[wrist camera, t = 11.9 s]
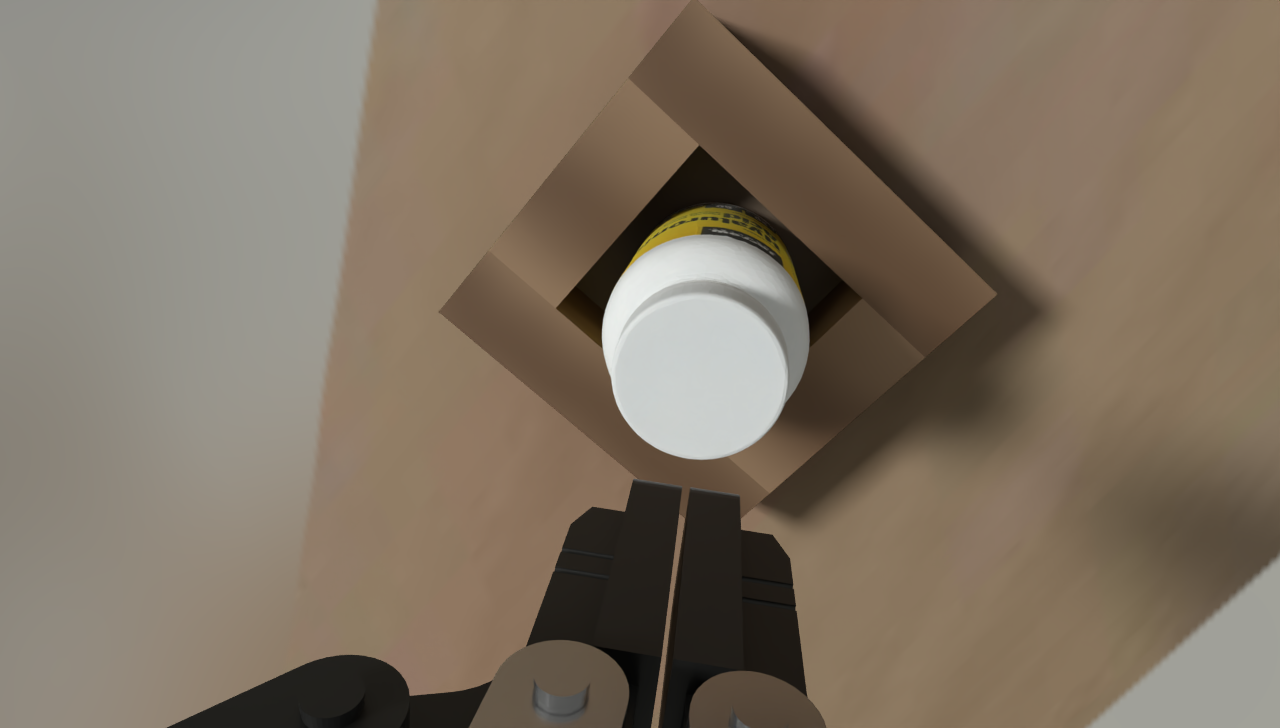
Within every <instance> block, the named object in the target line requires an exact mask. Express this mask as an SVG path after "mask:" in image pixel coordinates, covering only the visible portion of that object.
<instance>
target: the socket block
mask: <svg viewBox="0 0 1280 728" xmlns="http://www.w3.org/2000/svg"><path fill="white" fill-rule="evenodd" d="M701 203H726V204H732V205H736V206H739V207H742V208H744V209H747V210H749V211H751V212H753V213H755V214H756V215H758V216H760V217H761V218H762V219H764V220H765V221H766V222H767V223H768V224H769V225H770V226H771V227H772V228H773V229H774V230H775V231H776V232H777V233H778V235H779V236H780V237H781V239H782V240H783V242H784V243H785V245H786V247H787V249H788V251H789V254H790V256H791V259H792V262H793V266H794V269H795V273H796V276H797V280H798V283H799V286H800V290H801V293H802V296H803V299H804V303H805V307H806V310H807V316H808V323H809V338H810V341H809V353H808V358H807V363H806V366H805V369H804V372H803V375H802V378H801V380H800V382H799V384H798V385H797V387H796V389H795V391H794V392H793V394H792V395H791V396H790V398H789V399H788V400H787V402H786V403H785V405H784V407H783V410H782V412H781V414H780V416H779V417H778V419H777V421H776V422H775V424H774V425H773V426H772V428H771V429H770V430H769V431H768V432H767V433H766V434H765V435H764V436H763V437H762V438H761V439H760V440H758V441H757V442H756V443H755V444H753V445H751V446H749V447H748V448H746V449H744V450H742V451H740V452H738V453H735V454H733V455H730V456H726V457H723V458H718V459H709V460H696V459H687V458H681V457H677V456H674V455H671V454H668V453H665V452H663V451H661V450H659V449H657V448H655V447H653V446H652V445H650V444H649V443H647V442H646V441H645V440H643V439H642V438H641V437H640V436H639V435H637V434H636V432H635V431H634V430H633V429H632V428H631V427H630V425H629V424H628V423H627V421H626V420H625V419H624V417H623V415H622V414H621V412H620V410H619V408H618V406H617V403H616V400H615V397H614V394H613V388H612V381H611V376H610V374H609V371H608V368H607V365H606V361H605V357H604V352H603V345H602V326H603V318H604V314H605V310H606V307H607V304H608V301H609V299H610V296H611V294H612V291H613V289H614V287H615V285H616V284H617V282H618V280H619V279H620V277H621V276H622V274H623V273H624V271H625V270H626V268H627V267H628V265H629V264H630V262H631V261H632V259H633V257H634V256H635V254H636V253H637V251H638V250H639V248H640V247H641V245H642V243H643V242H644V241H645V239H646V238H647V237H648V235H649V234H650V233H651V232H652V230H653V229H654V228H655V227H656V226H657V225H658V224H659V223H661V222H662V221H663V220H664V219H666V218H667V217H668V216H670V215H671V214H673V213H675V212H677V211H679V210H681V209H683V208H686V207H689V206H692V205H696V204H701ZM996 295H997V293H996V292H995V291H994V290H993V289H992V288H991V287H990V286H989V285H988V284H987V283H986V282H985V281H984V280H983V279H982V278H981V277H979V276H978V275H977V274H976V273H975V272H974V271H973V270H972V269H971V268H970V267H969V266H968V265H967V264H966V263H965V262H964V261H963V260H962V259H961V258H960V257H959V256H958V255H957V254H956V253H955V252H954V251H953V250H952V249H951V248H950V247H949V246H948V245H947V244H946V243H945V242H944V241H943V240H942V239H941V238H940V237H939V236H938V235H937V234H936V233H935V232H934V231H933V230H931V229H930V228H929V227H928V226H927V225H926V224H925V223H924V222H923V221H922V220H921V219H920V218H919V217H918V216H917V215H916V214H915V213H914V212H913V211H912V210H911V209H910V208H909V207H908V206H907V205H906V204H905V203H904V202H903V201H902V200H901V199H900V198H899V197H898V196H897V195H896V194H895V193H894V192H893V191H892V190H891V189H890V188H889V187H888V186H887V185H886V184H884V183H883V182H882V181H881V180H880V179H879V178H878V177H877V176H876V175H875V174H874V173H873V172H872V171H871V170H870V169H869V168H868V167H867V166H866V165H865V164H864V163H863V162H862V161H861V160H860V159H859V158H858V157H857V156H856V155H855V154H854V153H853V152H852V151H851V150H850V149H849V148H848V147H847V146H846V145H845V144H844V143H843V142H842V141H841V140H840V139H839V138H838V137H836V136H835V135H834V134H833V133H832V132H831V131H830V130H829V129H828V128H827V127H826V126H825V125H824V124H823V123H822V122H821V121H820V120H819V119H818V118H817V117H816V116H815V115H814V114H813V113H812V112H811V111H810V110H809V109H808V108H807V107H806V106H805V105H804V104H803V103H802V102H801V101H800V100H799V99H798V98H797V97H796V96H795V95H794V94H793V93H792V92H791V91H790V90H788V89H787V88H786V87H785V86H784V85H783V84H782V83H781V82H780V81H779V80H778V79H777V78H776V77H775V76H774V75H773V74H772V73H771V72H770V71H769V70H768V69H767V68H766V67H765V66H764V65H763V64H762V63H761V62H760V61H759V60H758V59H757V58H756V57H755V56H754V55H753V54H752V53H751V52H750V51H749V50H748V49H747V48H746V47H745V46H744V45H743V44H742V43H740V42H739V41H738V40H737V39H736V38H735V37H734V36H733V35H732V34H731V33H730V32H729V31H728V30H727V29H726V28H725V27H724V26H723V25H722V24H721V23H720V22H719V21H718V20H717V19H716V18H715V17H714V16H713V15H712V14H711V13H710V12H709V11H708V10H707V9H706V8H705V7H704V6H703V5H702V4H701V3H700V2H699V1H698V0H691V1H690V2H689V3H688V5H687V6H686V7H685V8H684V10H683V11H682V12H681V13H680V15H679V16H678V17H677V18H676V19H675V21H674V22H673V23H672V24H671V26H670V27H669V28H668V29H667V31H666V32H665V33H664V34H663V36H662V37H661V38H660V39H659V40H658V42H657V43H656V44H655V45H654V47H653V48H652V49H651V50H650V52H649V53H648V54H647V55H646V57H645V58H644V59H643V60H642V61H641V63H640V64H639V65H638V66H637V68H636V69H635V70H634V71H633V73H632V74H631V75H630V76H629V78H628V79H627V80H626V81H625V82H624V84H623V85H622V86H621V87H620V89H619V90H618V91H617V92H616V94H615V95H614V96H613V97H612V99H611V100H610V101H609V102H608V103H607V105H606V106H605V107H604V108H603V110H602V111H601V112H600V113H599V115H598V116H597V117H596V118H595V120H594V121H593V122H592V123H591V125H590V126H589V127H588V128H587V129H586V131H585V132H584V133H583V134H582V136H581V137H580V138H579V139H578V141H577V142H576V143H575V144H574V146H573V147H572V148H571V149H570V150H569V152H568V153H567V154H566V155H565V157H564V158H563V159H562V160H561V162H560V163H559V164H558V165H557V167H556V168H555V169H554V170H553V171H552V173H551V174H550V175H549V176H548V178H547V179H546V180H545V181H544V183H543V184H542V185H541V186H540V188H539V189H538V190H537V191H536V192H535V194H534V195H533V196H532V197H531V199H530V200H529V201H528V202H527V204H526V205H525V206H524V207H523V209H522V210H521V211H520V212H519V213H518V215H517V216H516V217H515V218H514V220H513V221H512V222H511V223H510V225H509V226H508V227H507V228H506V230H505V231H504V232H503V233H502V234H501V236H500V237H499V238H498V239H497V241H496V242H495V243H494V244H493V246H492V247H491V248H490V249H489V251H488V252H487V253H486V254H485V255H484V257H483V258H482V259H481V260H480V262H479V263H478V264H477V265H476V267H475V268H474V269H473V270H472V272H471V273H470V274H469V275H468V276H467V278H466V279H465V280H464V281H463V283H462V284H461V285H460V286H459V288H458V289H457V290H456V291H455V293H454V294H453V295H452V296H451V297H450V299H449V300H448V301H447V302H446V304H445V305H444V306H443V307H442V309H441V310H440V311H439V313H441V314H442V315H443V316H444V317H445V318H447V319H448V320H449V321H450V322H451V323H453V324H454V325H455V326H456V327H457V328H459V329H460V330H461V331H462V332H463V333H465V334H466V335H467V336H468V337H469V338H470V339H472V340H473V341H474V342H475V343H476V344H478V345H479V346H480V347H481V348H482V349H484V350H485V351H486V352H487V353H488V354H490V355H491V356H492V357H493V358H494V359H496V360H497V361H498V362H499V363H500V364H501V365H503V366H504V367H505V368H506V369H507V370H509V371H510V372H511V373H512V374H513V375H515V376H516V377H517V378H518V379H519V380H521V381H522V382H523V383H524V384H525V385H527V386H528V387H529V388H530V389H531V390H532V391H534V392H535V393H536V394H537V395H538V396H540V397H541V398H542V399H543V400H544V401H546V402H547V403H548V404H549V405H550V406H552V407H553V408H554V409H555V410H556V411H558V412H559V413H560V414H561V415H562V416H564V417H565V418H566V419H567V420H568V421H569V422H571V423H572V424H573V425H574V426H575V427H577V428H578V429H579V430H580V431H581V432H583V433H584V434H585V435H586V436H587V437H589V438H590V439H591V440H592V441H593V442H595V443H596V444H597V445H598V446H599V447H600V448H602V449H603V450H604V451H605V452H606V453H608V454H609V455H610V456H611V457H612V458H614V459H615V460H616V461H617V462H618V463H620V464H621V465H622V466H623V467H624V468H626V469H627V470H628V471H629V472H630V473H632V474H633V475H634V476H635V477H636V478H637V479H639V480H645V481H652V482H658V483H665V484H671V485H678V486H682V494H681V502H680V510H679V514H680V515H682V516H683V517H684V518H685V517H686V510H687V504H688V497H689V491H690V487H692V488H699V489H705V490H712V491H718V492H725V493H731V494H738V495H740V515H741V518H742V517H743V516H744V515H746V514H747V513H748V512H749V511H750V510H751V509H753V508H754V507H755V506H756V505H757V504H758V503H759V502H761V501H762V500H763V499H764V498H765V497H766V496H767V495H769V494H770V493H771V492H772V491H773V490H774V489H775V488H777V487H778V486H779V485H780V484H781V483H782V482H783V481H785V480H786V479H787V478H788V477H789V476H790V475H791V474H793V473H794V472H795V471H796V470H797V469H798V468H799V467H801V466H802V465H803V464H804V463H805V462H806V461H807V460H809V459H810V458H811V457H812V456H813V455H814V454H815V453H817V452H818V451H819V450H820V449H821V448H822V447H823V446H825V445H826V444H827V443H828V442H829V441H830V440H831V439H833V438H834V437H835V436H836V435H837V434H838V433H839V432H841V431H842V430H843V429H844V428H845V427H846V426H847V425H849V424H850V423H851V422H852V421H853V420H854V419H855V418H857V417H858V416H859V415H860V414H861V413H862V412H863V411H865V410H866V409H867V408H868V407H869V406H870V405H871V404H873V403H874V402H875V401H876V400H877V399H878V398H879V397H881V396H882V395H883V394H884V393H885V392H886V391H887V390H889V389H890V388H891V387H892V386H893V385H894V384H895V383H897V382H898V381H899V380H900V379H901V378H902V377H903V376H905V375H906V374H907V373H908V372H909V371H910V370H911V369H913V368H914V367H915V366H916V365H917V364H918V363H919V362H921V361H922V360H923V359H924V358H925V357H926V356H927V355H929V354H930V353H931V352H932V351H933V350H934V349H935V348H937V347H938V346H939V345H940V344H941V343H942V342H943V341H945V340H946V339H947V338H948V337H949V336H950V335H951V334H953V333H954V332H955V331H956V330H957V329H958V328H959V327H961V326H962V325H963V324H964V323H965V322H966V321H967V320H969V319H970V318H971V317H972V316H973V315H974V314H975V313H977V312H978V311H979V310H980V309H981V308H982V307H983V306H985V305H986V304H987V303H988V302H989V301H990V300H991V299H993V298H994V297H995V296H996Z"/></svg>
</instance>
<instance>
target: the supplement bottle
mask: <svg viewBox="0 0 1280 728" xmlns="http://www.w3.org/2000/svg"><path fill="white" fill-rule="evenodd" d="M809 341H810V338H809V323H808V316H807V310H806V307H805V303H804V299H803V296H802V293H801V290H800V286H799V283H798V280H797V276H796V273H795V269H794V266H793V262H792V259H791V256H790V254H789V251H788V249H787V247H786V245H785V243H784V242H783V240H782V239H781V237H780V236H779V235H778V233H777V232H776V231H775V230H774V229H773V228H772V227H771V226H770V225H769V224H768V223H767V222H766V221H765V220H764V219H762V218H761V217H760V216H758V215H756V214H755V213H753V212H751V211H749V210H747V209H744V208H742V207H739V206H736V205H732V204H726V203H701V204H696V205H692V206H689V207H686V208H683V209H681V210H679V211H677V212H675V213H673V214H671V215H670V216H668V217H667V218H666V219H664V220H663V221H662V222H661V223H659V224H658V225H657V226H656V227H655V228H654V229H653V230H652V232H651V233H650V234H649V235H648V237H647V238H646V239H645V241H644V242H643V243H642V245H641V247H640V248H639V250H638V251H637V253H636V254H635V256H634V257H633V259H632V261H631V262H630V264H629V265H628V267H627V268H626V270H625V271H624V273H623V274H622V276H621V277H620V279H619V280H618V282H617V284H616V285H615V287H614V289H613V291H612V294H611V296H610V299H609V301H608V304H607V307H606V310H605V314H604V318H603V326H602V345H603V352H604V357H605V361H606V365H607V368H608V371H609V374H610V376H611V381H612V388H613V394H614V397H615V400H616V403H617V406H618V408H619V410H620V412H621V414H622V415H623V417H624V419H625V420H626V421H627V423H628V424H629V425H630V427H631V428H632V429H633V430H634V431H635V432H636V434H637V435H639V436H640V437H641V438H642V439H643V440H645V441H646V442H647V443H649V444H650V445H652V446H653V447H655V448H657V449H659V450H661V451H663V452H665V453H668V454H671V455H674V456H677V457H681V458H687V459H696V460H709V459H718V458H723V457H726V456H730V455H733V454H735V453H738V452H740V451H742V450H744V449H746V448H748V447H749V446H751V445H753V444H755V443H756V442H757V441H758V440H760V439H761V438H762V437H763V436H764V435H765V434H766V433H767V432H768V431H769V430H770V429H771V428H772V426H773V425H774V424H775V422H776V421H777V419H778V417H779V416H780V414H781V412H782V410H783V407H784V405H785V403H786V402H787V400H788V399H789V398H790V396H791V395H792V394H793V392H794V391H795V389H796V387H797V385H798V384H799V382H800V380H801V378H802V375H803V372H804V369H805V366H806V363H807V358H808V353H809Z"/></svg>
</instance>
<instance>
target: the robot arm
mask: <svg viewBox="0 0 1280 728" xmlns="http://www.w3.org/2000/svg"><path fill="white" fill-rule="evenodd" d="M681 494H682V486H678V485H671V484H665V483H658V482H652V481H645V480H639V479H633V483H632V487H631V491H630V495H629V499H628V503H627V507H626V511H625V512H622V511H616V510H610V509H603V508H597V507H592V508H590V509H589V510H588V511H587V512H585V513H584V514H583V515H582V516H580V517H579V518H578V519H577V520H575V521H574V522H573V523H572V524H571V525H570V528H569V531H568V533H567V536H566V539H565V542H564V544H563V547H562V552H561V553H560V555H559V558H558V561H557V563H556V566H555V571H554V572H553V574H552V577H551V580H550V583H549V585H548V588H547V591H546V594H545V596H544V599H543V602H542V604H541V607H540V610H539V613H538V615H537V618H536V621H535V624H534V626H533V629H532V632H531V635H530V637H529V640H528V643H527V645H526V647H524V648H522V649H521V650H519V651H517V652H515V653H514V654H513V655H511V656H510V657H509V658H508V659H507V660H506V661H505V662H504V663H503V664H502V665H501V666H500V668H499V670H498V671H497V673H496V675H495V677H494V679H493V680H492V681H490V682H488V683H486V684H483V685H481V686H478V687H475V688H471V689H467V690H463V691H456V692H448V693H437V694H427V695H416V696H409V689H408V686H407V684H406V681H405V680H404V678H403V677H402V675H401V674H400V673H399V672H398V671H397V670H396V669H395V668H394V667H392V666H391V665H389V664H387V663H385V662H383V661H381V660H378V659H375V658H371V657H367V656H360V655H339V656H333V657H326V658H323V659H319V660H316V661H312V662H310V663H307V664H305V665H302V666H300V667H298V668H296V669H293V670H291V671H289V672H287V673H285V674H283V675H280V676H278V677H276V678H274V679H272V680H270V681H267V682H265V683H263V684H261V685H259V686H256V687H254V688H252V689H250V690H248V691H246V692H243V693H241V694H239V695H237V696H235V697H232V698H230V699H228V700H226V701H224V702H222V703H219V704H217V705H215V706H213V707H211V708H209V709H207V710H204V711H202V712H200V713H198V714H196V715H193V716H191V717H189V718H187V719H185V720H182V721H180V722H178V723H176V724H174V725H172V726H169V727H167V728H651V723H652V717H653V710H654V703H655V697H656V690H657V683H658V677H659V670H660V663H661V657H662V649H663V640H664V632H665V624H666V616H667V608H668V600H669V592H670V583H671V575H672V567H673V559H674V551H675V543H676V534H677V526H678V518H679V510H680V502H681ZM795 607H796V603H795V595H794V589H793V579H792V571H791V563H790V558H789V557H788V555H787V554H786V553H785V551H784V550H783V549H782V547H781V546H780V544H779V543H778V542H777V540H776V539H775V538H774V536H773V535H770V534H764V533H757V532H751V531H745V530H741V515H740V495H738V494H731V493H725V492H718V491H712V490H705V489H699V488H692V487H690V491H689V497H688V504H687V510H686V517H685V523H684V530H683V537H682V543H681V550H680V556H679V563H678V570H677V576H676V583H675V590H674V597H673V605H672V612H671V620H670V629H669V638H668V647H667V655H666V664H665V673H664V682H663V691H662V699H661V708H660V717H659V726H658V728H826V725H825V722H824V719H823V718H822V716H821V714H820V712H819V711H818V709H817V708H816V707H815V705H814V704H813V703H812V702H811V701H810V700H809V699H808V697H807V692H806V684H805V676H804V668H803V660H802V652H801V644H800V636H799V628H798V619H797V611H795Z"/></svg>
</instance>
